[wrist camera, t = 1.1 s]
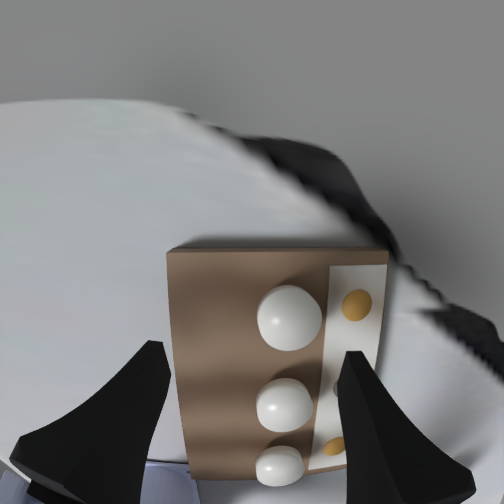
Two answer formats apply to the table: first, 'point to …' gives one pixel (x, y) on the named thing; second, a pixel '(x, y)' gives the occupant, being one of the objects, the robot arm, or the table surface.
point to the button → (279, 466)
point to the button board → (266, 348)
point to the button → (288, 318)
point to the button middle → (283, 405)
